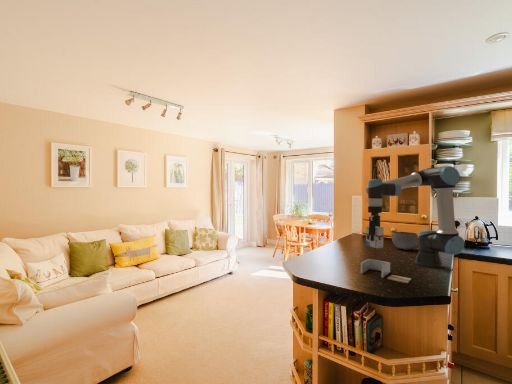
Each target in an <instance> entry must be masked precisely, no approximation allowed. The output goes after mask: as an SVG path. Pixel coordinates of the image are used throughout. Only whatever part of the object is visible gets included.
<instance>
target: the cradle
mask: <svg viewBox="0 0 512 384" xmlns="http://www.w3.org/2000/svg"><path fill="white" fill-rule="evenodd" d="M369 270H375V271H380V272H381V273H380V275H381V276H380V277H381V278H382V279H383V278H385V277H386V276H387V275H389V274H390V273H391V261H385V260H378V259H374V258H368V259H365V260H364V261H361V262H360V274H364V273H366V272H367V271H369Z"/></svg>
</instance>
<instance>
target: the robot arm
mask: <svg viewBox="0 0 512 384" xmlns="http://www.w3.org/2000/svg"><path fill="white" fill-rule="evenodd" d="M460 179H461V175H460V172H459V171H458V170H457V169H456V167H454V166H452V165H443V166H436V167H428V168H425V169H422V170H421V169H420V170H418V171H415V172H412V173H410V175H406V176H402V177H399V178H394V179H390V180H386V181H383V180H382V179H381V178H380V179H379V178H377V179H375V178H373V179H369V180H368V183H367V186H366V189H365V191H366V194H367V200H366V201H367V205H368V206H367V212H368V213H371V215H370V216H369V217H368V220H369V221H368V226H369V233H368V235H370V246H371V247H370V246H369V247H370V248H374V247H375V227H376V226H379V227H381V215H380V214H381V213H383V207H382V206H383V197H398V196H400V195H401V193H402V190H403V189H408V188H412V187H415V188H416V187H417V188H418V187H423V186H424V187H425V186H428V187H429V186H432V189H433V190H434V191H435V195H436V197H435V199H436V209H437V213H436V214H437V226H438V228H437V230H420V231H419V232H418V239H419V241H418V253H417V255H416V258H415V261H414V262H415V264H416V265H418V266H421V267H428V268H437V269H438V268H442V267H443V261H442V259H441V256H440V253H444V254H447V255H453V256H455V255H459V254H460V253H461V252H462V251H463V250H464V248H465V239H464V238H463V237H461V236H460V232H459V231H458V230H457V229H456V221H455V219H456V218H455V207H454V206H455V204H454V190H455V189H456V185H457V184H458V183H460V182H459V181H460Z"/></svg>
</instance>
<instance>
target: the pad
mask: <svg viewBox="0 0 512 384" xmlns="http://www.w3.org/2000/svg"><path fill="white" fill-rule="evenodd" d="M386 279H387V280H390V281H395V282H398V283H404V284H409V283H410V282H411V281H412V278H410V277H405V276H400V275H395V274H390V275H389V276H388V277H386Z"/></svg>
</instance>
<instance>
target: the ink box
mask: <svg viewBox="0 0 512 384" xmlns="http://www.w3.org/2000/svg"><path fill="white" fill-rule="evenodd" d="M365 230H366V231H365V246H366V247H370V248H372V247H371V246H370V235H368V233H369V225H367V226H366V227H365ZM384 230H385V228H384V227H383V226H380V227H379V226H376V227H375V247H373V248H375V249H383V248H384V232H385V231H384Z"/></svg>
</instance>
